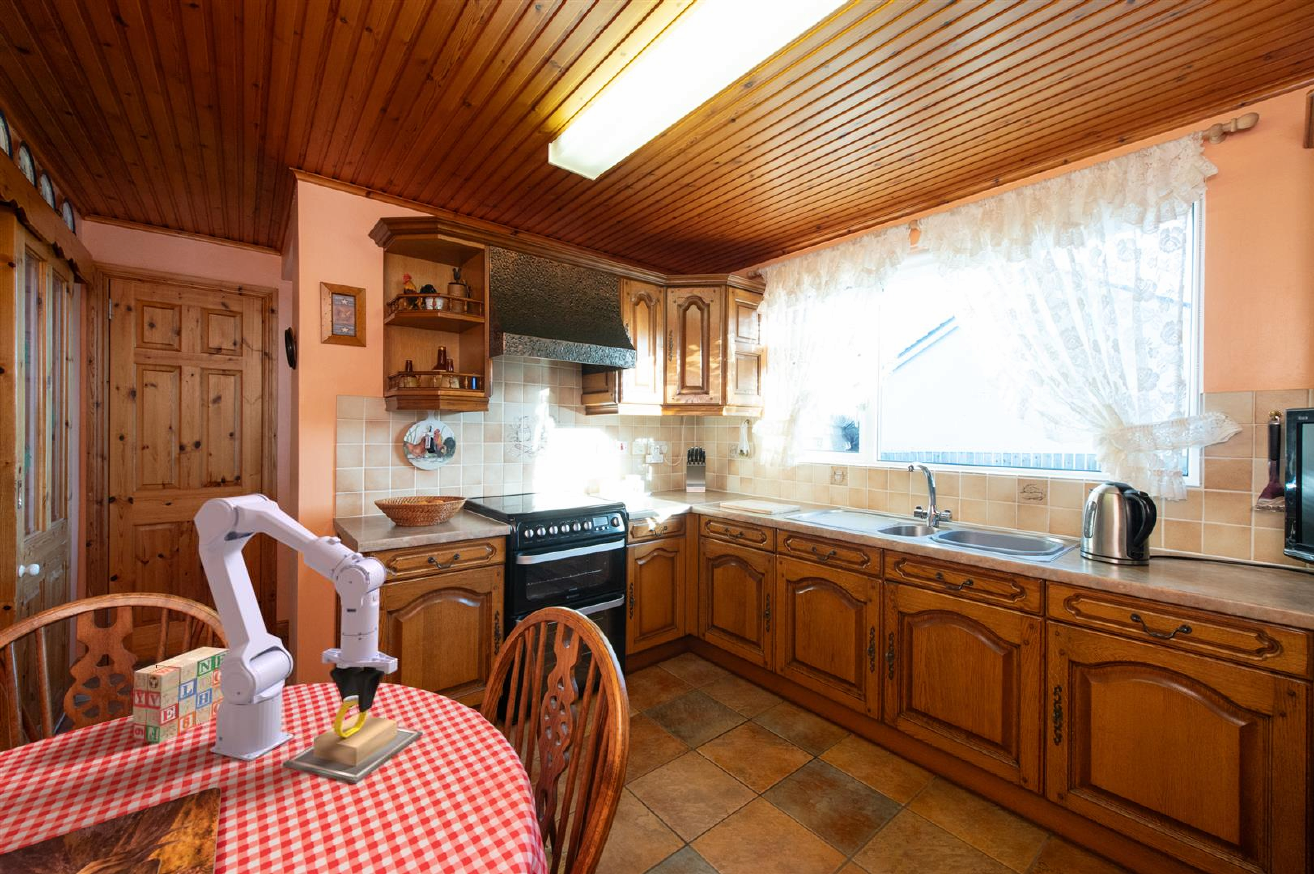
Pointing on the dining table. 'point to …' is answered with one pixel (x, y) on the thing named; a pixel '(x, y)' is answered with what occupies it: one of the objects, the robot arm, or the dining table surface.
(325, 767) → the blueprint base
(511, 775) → the dining table surface
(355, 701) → the watch
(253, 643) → the robot arm
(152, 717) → the stack of blocks
